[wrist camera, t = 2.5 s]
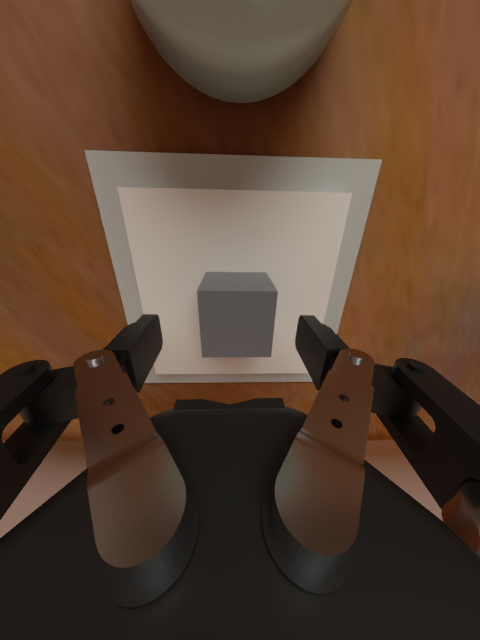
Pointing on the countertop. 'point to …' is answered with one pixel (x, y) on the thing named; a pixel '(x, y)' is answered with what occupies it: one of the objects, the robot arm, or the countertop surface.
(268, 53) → the bowl
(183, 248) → the lid
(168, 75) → the countertop surface
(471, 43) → the countertop surface
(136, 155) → the mat
